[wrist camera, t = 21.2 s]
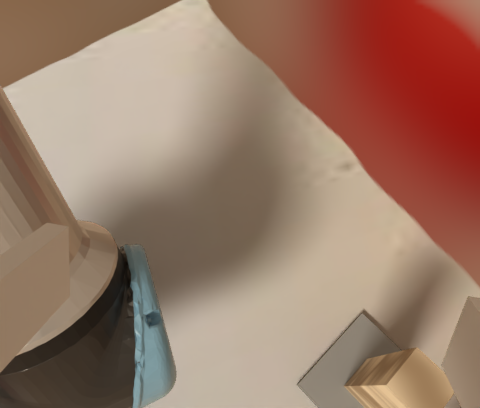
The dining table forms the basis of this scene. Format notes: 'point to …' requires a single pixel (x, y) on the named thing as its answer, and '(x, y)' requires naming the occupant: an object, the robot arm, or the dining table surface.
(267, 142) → the dining table surface
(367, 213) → the dining table surface
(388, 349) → the mat
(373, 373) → the wooden block
